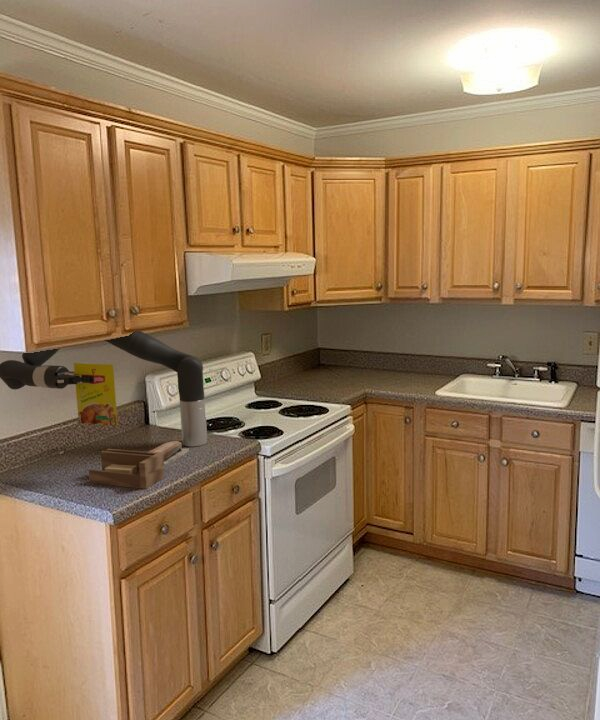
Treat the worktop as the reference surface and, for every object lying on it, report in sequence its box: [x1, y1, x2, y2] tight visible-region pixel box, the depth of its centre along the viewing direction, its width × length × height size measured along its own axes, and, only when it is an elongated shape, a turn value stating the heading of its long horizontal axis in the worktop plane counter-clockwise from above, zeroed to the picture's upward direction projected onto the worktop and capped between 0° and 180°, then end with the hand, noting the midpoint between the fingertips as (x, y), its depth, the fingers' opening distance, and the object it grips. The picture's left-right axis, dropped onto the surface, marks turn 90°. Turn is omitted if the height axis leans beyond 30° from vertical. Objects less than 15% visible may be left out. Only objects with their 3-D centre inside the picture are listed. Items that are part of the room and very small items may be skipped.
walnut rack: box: [88, 448, 165, 490], centre depth 187 cm, size 10×21×8 cm, turn 71°
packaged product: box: [148, 440, 190, 468], centre depth 208 cm, size 18×5×10 cm
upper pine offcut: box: [105, 464, 137, 474], centre depth 187 cm, size 4×9×2 cm, turn 75°
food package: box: [73, 362, 118, 427], centre depth 191 cm, size 15×1×20 cm, turn 70°
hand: (94, 378), depth 190 cm, fingers closed on food package, 1 cm apart
